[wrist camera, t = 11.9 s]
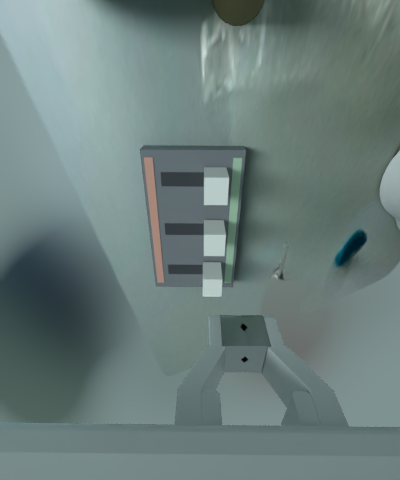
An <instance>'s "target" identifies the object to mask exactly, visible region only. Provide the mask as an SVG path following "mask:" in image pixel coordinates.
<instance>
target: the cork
mask: <svg viewBox="0 0 400 480" xmlns="http://www.w3.org/2000/svg"><path fill="white" fill-rule="evenodd" d="M212 3H213V7H214V9H215V11H216V13H217V14H218V16H219V17H220V18H221V19H222V20H223V21H224V22H225V23H228V24H230V25H233V26H238V25H244V24H246V23H248V22H250V21H251V20H252V19H253V18H254V17H255V16H257V14H258V13H259V11H260V9H261V8H262V6H263V4H264V0H212Z"/></svg>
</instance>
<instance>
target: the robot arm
mask: <svg viewBox="0 0 400 480" xmlns="http://www.w3.org/2000/svg"><path fill="white" fill-rule="evenodd" d="M380 200H381V203H382V205H383V207H384V209H385V210H386V211H387V212H388V213H389V214H391V215H392V216H393V217H394V218H395V219H396V223H397V227H398V229H399V230H400V151H399V152H398V153H397V154H396V156H395V157H394V158H393V159H392V161H391V162H390V164H389V165H388V167H387V169H386V171H385V173H384V175H383V178H382V181H381V185H380ZM224 372H257V373H262V375H263V376H264V377H265V378H266V380H267V381H268V382H269V384H270V385H271V387H272V388H273V389H274V391H275V392H276V393H277V395H278V396H279V398H280V399H281V400H282V401H283V403H284V404H285V406H286V407H287V410H286V413H285V415H284V418H283V421H282V423H281V426H247V425H222V417H221V403H220V393H219V392H218V391H217V390H216V388H217V386H218V384H219V382H220V380H221V378H222V376H223V374H224ZM0 480H400V427H349V426H348V423H347V421H346V418H345V416H344V414H343V412H342V409H341V407H340V404H339V402H338V400H337V397H336V395H335V393H334V391H333V389H331V388H330V387H329V386H328V385H327V384H326V383H325V382H324V381H323V380H322V379H321V378H320V377H319V376H318V375H317V374H316V373H315V372H314V371H313V370H311V369H310V368H309V367H308V366H307V365H306V364H305V363H304V362H303V361H302V360H301V359H300V358H299V357H298V356H297V355H296V354H295V353H294V352H293V351H292V350H291V349H289V348H288V347H284V344H283V341H282V337H281V335H280V331H279V328H278V325H277V322H276V319H275V317H274V316H262V315H241V316H233V315H209V319H208V346H206V347H205V349H204V350H203V352H202V353H201V355H200V356H199V358H198V359H197V361H196V362H195V364H194V365H193V366H192V368H191V369H190V371H189V373H188V374H187V375H186V377H185V378H184V380H183V381H182V383H181V384H180V386H179V387H178V391H177V402H176V414H175V425H156V424H152V425H151V424H62V423H61V424H60V423H58V424H57V423H55V424H54V423H0Z"/></svg>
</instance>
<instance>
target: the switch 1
mask: <svg viewBox="0 0 400 480" xmlns="http://www.w3.org/2000/svg"><path fill="white" fill-rule="evenodd" d="M228 189H229V175H228V172H227V168H226V167H204V205H227V204H228Z"/></svg>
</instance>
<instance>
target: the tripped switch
mask: <svg viewBox="0 0 400 480" xmlns="http://www.w3.org/2000/svg"><path fill="white" fill-rule="evenodd" d="M225 241H226V232H225V226H224V220H204V256H225Z"/></svg>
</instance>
